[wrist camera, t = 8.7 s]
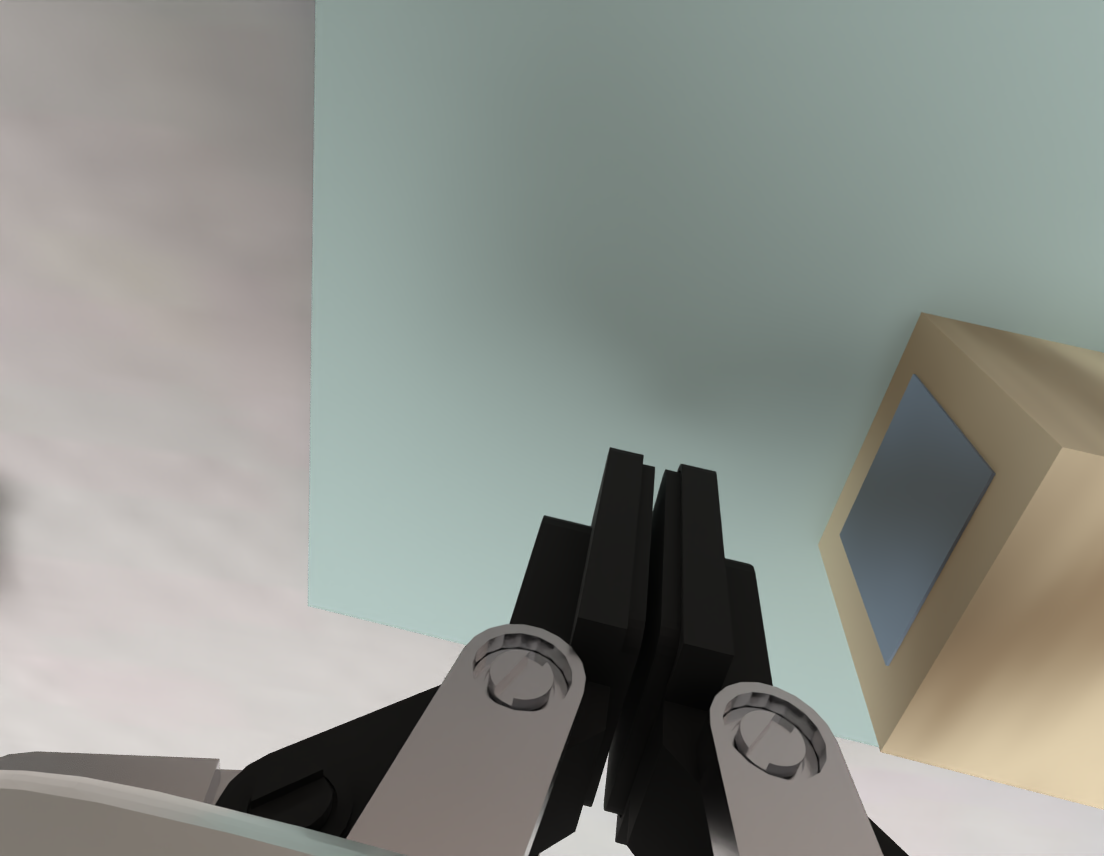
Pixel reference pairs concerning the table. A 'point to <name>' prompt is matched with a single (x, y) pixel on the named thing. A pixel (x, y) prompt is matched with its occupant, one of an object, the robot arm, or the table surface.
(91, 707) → the table surface
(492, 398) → the mat
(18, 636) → the table surface
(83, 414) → the table surface
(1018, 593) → the block
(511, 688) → the robot arm
